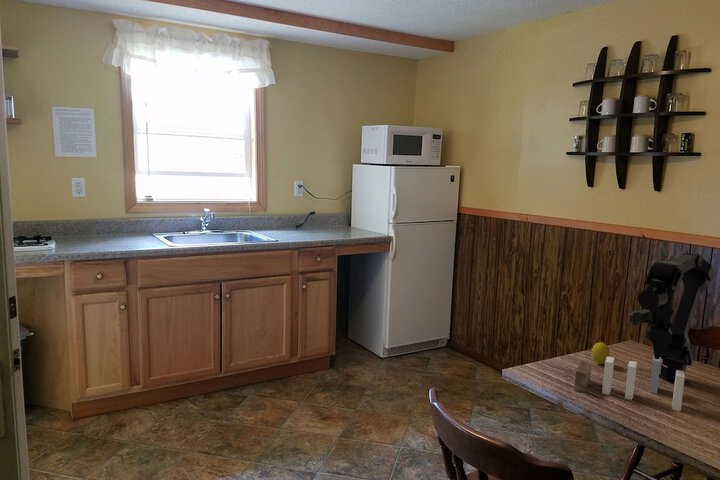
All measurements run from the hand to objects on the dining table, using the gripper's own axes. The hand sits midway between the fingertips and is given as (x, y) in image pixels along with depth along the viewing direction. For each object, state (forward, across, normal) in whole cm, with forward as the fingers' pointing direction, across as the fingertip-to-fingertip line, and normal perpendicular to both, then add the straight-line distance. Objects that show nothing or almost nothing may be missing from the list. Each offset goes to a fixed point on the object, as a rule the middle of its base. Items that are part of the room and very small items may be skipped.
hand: (657, 353), depth 155 cm
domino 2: (+11, +9, -6) cm, 16 cm away
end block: (+11, +9, -19) cm, 24 cm away
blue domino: (+12, 0, 0) cm, 12 cm away
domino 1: (+11, +9, -12) cm, 19 cm away
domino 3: (+11, +9, +6) cm, 16 cm away
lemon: (+12, -13, -17) cm, 24 cm away
